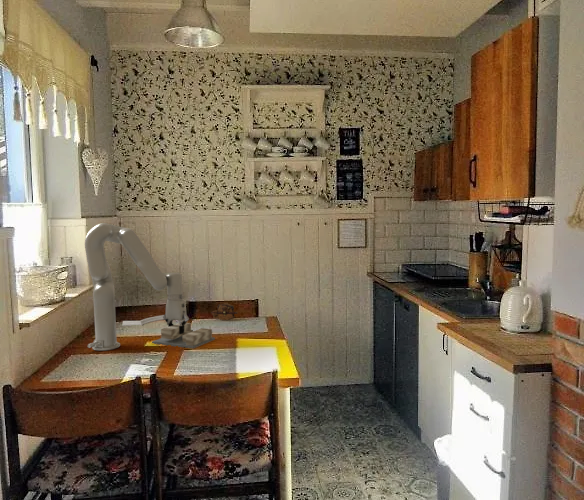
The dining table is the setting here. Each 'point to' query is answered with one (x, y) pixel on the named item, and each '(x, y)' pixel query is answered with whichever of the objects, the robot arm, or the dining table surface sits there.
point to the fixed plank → (197, 336)
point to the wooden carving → (224, 312)
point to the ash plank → (175, 331)
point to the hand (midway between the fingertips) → (176, 332)
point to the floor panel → (179, 342)
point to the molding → (142, 321)
